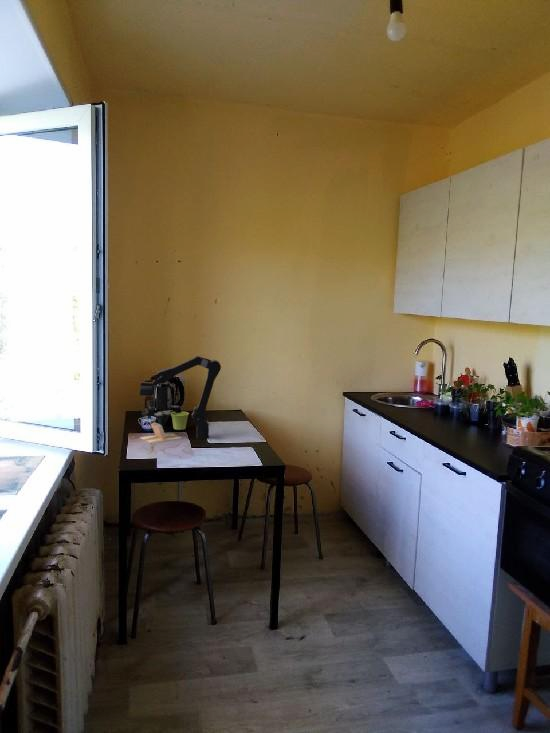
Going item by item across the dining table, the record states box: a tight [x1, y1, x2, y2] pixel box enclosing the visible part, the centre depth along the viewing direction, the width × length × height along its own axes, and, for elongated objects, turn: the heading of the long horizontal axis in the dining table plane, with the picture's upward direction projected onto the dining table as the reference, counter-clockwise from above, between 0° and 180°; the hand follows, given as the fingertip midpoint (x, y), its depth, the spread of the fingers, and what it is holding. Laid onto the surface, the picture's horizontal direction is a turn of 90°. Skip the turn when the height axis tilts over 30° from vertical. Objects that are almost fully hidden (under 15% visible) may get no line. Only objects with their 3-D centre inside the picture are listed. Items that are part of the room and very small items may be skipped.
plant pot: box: [170, 411, 190, 431], centre depth 283 cm, size 9×9×9 cm
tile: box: [150, 421, 166, 439], centre depth 262 cm, size 7×2×7 cm, turn 40°
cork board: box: [139, 432, 183, 444], centre depth 263 cm, size 12×17×1 cm
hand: (161, 428), depth 263 cm, fingers closed
